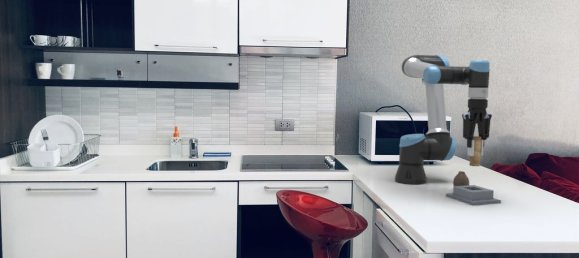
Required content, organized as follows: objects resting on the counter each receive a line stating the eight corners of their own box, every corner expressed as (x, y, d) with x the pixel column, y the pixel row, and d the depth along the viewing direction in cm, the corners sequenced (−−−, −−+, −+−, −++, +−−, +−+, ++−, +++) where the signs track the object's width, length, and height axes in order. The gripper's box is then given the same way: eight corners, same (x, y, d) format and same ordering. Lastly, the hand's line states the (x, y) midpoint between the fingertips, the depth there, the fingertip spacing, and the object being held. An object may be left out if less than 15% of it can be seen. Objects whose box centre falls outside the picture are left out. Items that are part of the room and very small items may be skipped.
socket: (445, 196, 191) (446, 185, 191) (472, 194, 196) (472, 183, 196) (473, 205, 176) (473, 193, 176) (500, 203, 181) (501, 191, 181)
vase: (449, 189, 205) (450, 170, 204) (461, 188, 207) (462, 170, 206) (460, 193, 198) (461, 173, 198) (472, 192, 201) (473, 172, 200)
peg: (467, 165, 186) (468, 136, 185) (474, 164, 187) (476, 136, 186) (474, 166, 182) (475, 137, 181) (482, 166, 184) (483, 137, 183)
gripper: (467, 98, 176) (464, 157, 178) (501, 98, 182) (498, 156, 184) (454, 98, 183) (452, 154, 185) (487, 98, 189) (484, 153, 191)
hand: (475, 155), depth 184 cm, fingers closed on peg, 4 cm apart
